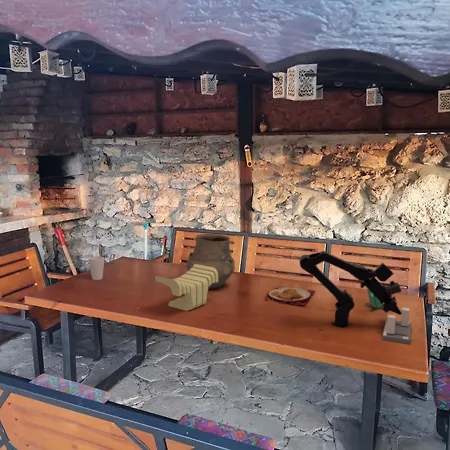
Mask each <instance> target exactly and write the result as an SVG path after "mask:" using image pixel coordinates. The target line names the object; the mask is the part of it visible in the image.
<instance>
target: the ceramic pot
mask: <svg viewBox="0 0 450 450" xmlns="http://www.w3.org/2000/svg"><path fill="white" fill-rule="evenodd" d="M230 239H231V237H229V236H227V235H224V234H215V233H201V234H197V235H195V246H194V249H193V252H191V251H190V253H189V256H188V258H187V260H186V269H187V272H188V271H189V270H190V269H191V268H193V266H194V265H195V264H198V265H203V266H208V267H213V268H215V269H216V270H217V272H218V282H215V283H211V285H210V286H209V287H208V290H209V289H210V290H211V289H217V288H221V286H224V285H223V284H225V283H226V282H227V280H229V279H230V277H231V276H232V275H233V273H234V272H235V269H236V267H235V266H236V265H235V260H234V257H232V255H231V249H230Z"/></svg>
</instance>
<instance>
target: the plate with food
mask: <svg viewBox="0 0 450 450" xmlns="http://www.w3.org/2000/svg"><path fill="white" fill-rule="evenodd" d="M278 288H279V289H274V288H273V289H271V290H270V291H267V293H268V294H267V293H266V295H265V297H268V298H265V299H264V300H265V301H264V302H269V300H271V301H270V302H274V303H277V302H278V304H281V305H287V304H289V305H292V306H303V307H304V306H306V305H307V304H308V303H309V301H310V300H311V298H312V297H313V295H314V294H315V293H316V290H313V289H312V290H311V289H308V290H307V289H303V288H300V287H299V288H298V287H293V286H292V287H278ZM269 297H270V298H269ZM268 299H269V300H268ZM272 299H273V300H272ZM274 300H275V301H274ZM286 302H287V303H286Z"/></svg>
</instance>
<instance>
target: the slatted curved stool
mask: <svg viewBox="0 0 450 450" xmlns="http://www.w3.org/2000/svg"><path fill="white" fill-rule="evenodd" d="M154 280H155V282H158V283H161V284H163V285H165V286H167V287H168V288H170V291H171V292H172V296H176V297H178V298H176V299H174V300H170V301H168V305H167V306H168V307H171V308H174V309H179V310H182V311H187V312H188V311H190V310H193V309H196V308H198V307H200V306H203V305H205V304H206V303H207V299H208V298H207V297H208V291H209V289H208V287H209V286H210V285H211V283H215V282H218V272H217V270H216V269H215V268H213V267H208V266H203V265H198V264H195V265H194V266H193V268H191V269H190V270H189V271H188V270H187V271H186V272H185V273H184V274H182V275H180V276H178V277H175V278H168V277H162V276H158V275H155V279H154ZM183 294H184V296H182V295H183Z"/></svg>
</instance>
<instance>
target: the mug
mask: <svg viewBox="0 0 450 450" xmlns="http://www.w3.org/2000/svg"><path fill="white" fill-rule="evenodd" d="M366 288H367V287H366ZM367 297H368V299H369V300H368V301H369V303H370V307H372V308H374V309H382V305H383V304H384V303H382V304H381V303H380V301H379V300H378V299H377V298H376V297H374V296H373V294H372V293H371V292H370V290H369V289H368V288H367Z"/></svg>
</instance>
